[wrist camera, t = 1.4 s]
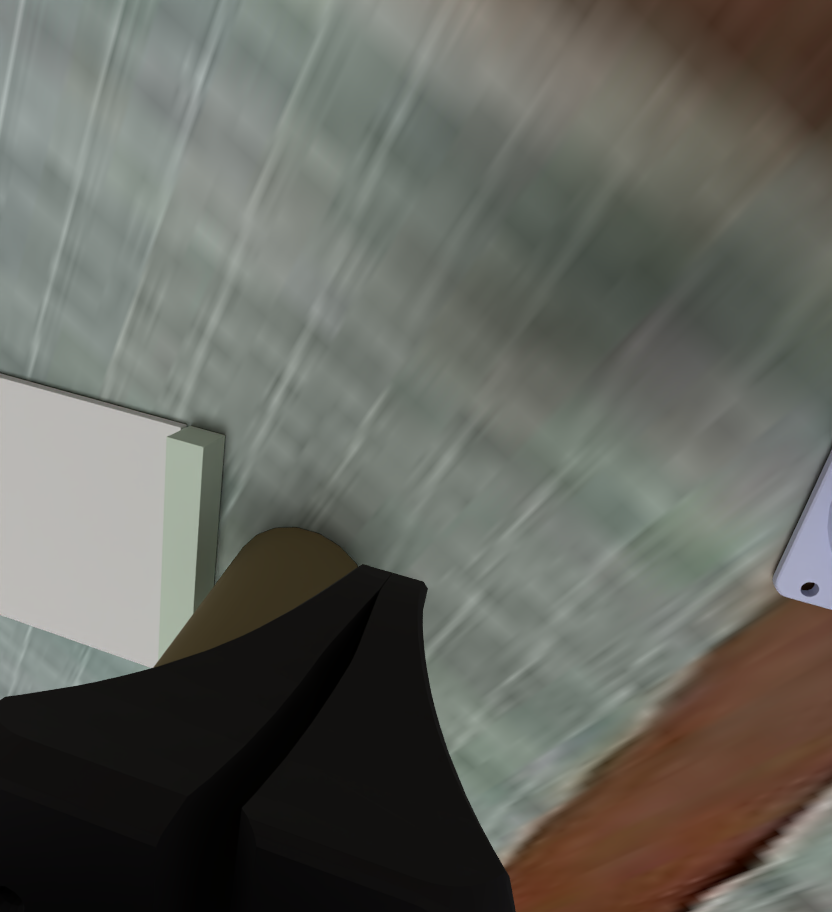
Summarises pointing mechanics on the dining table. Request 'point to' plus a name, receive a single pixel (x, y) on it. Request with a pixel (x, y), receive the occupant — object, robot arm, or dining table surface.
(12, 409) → the mat
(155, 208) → the dining table surface
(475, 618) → the dining table surface
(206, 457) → the kerb
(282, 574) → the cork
